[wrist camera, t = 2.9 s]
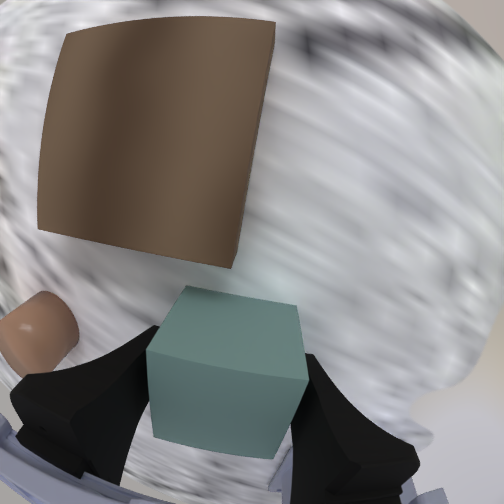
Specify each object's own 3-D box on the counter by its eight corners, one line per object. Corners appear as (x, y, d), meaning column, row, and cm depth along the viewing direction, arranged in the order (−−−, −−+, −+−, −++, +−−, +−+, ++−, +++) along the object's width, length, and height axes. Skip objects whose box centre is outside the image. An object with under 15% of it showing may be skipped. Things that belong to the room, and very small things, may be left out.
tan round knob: (74, 300, 13) (32, 337, 9) (83, 355, 14) (51, 395, 11) (29, 283, 13) (-13, 311, 9) (39, 336, 14) (6, 368, 11)
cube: (296, 304, 13) (308, 380, 8) (273, 383, 14) (272, 459, 9) (187, 284, 13) (146, 349, 8) (181, 366, 14) (153, 437, 9)
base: (274, 43, 9) (275, 22, 7) (237, 251, 12) (231, 268, 10) (89, 45, 9) (66, 33, 7) (62, 219, 12) (37, 229, 10)
